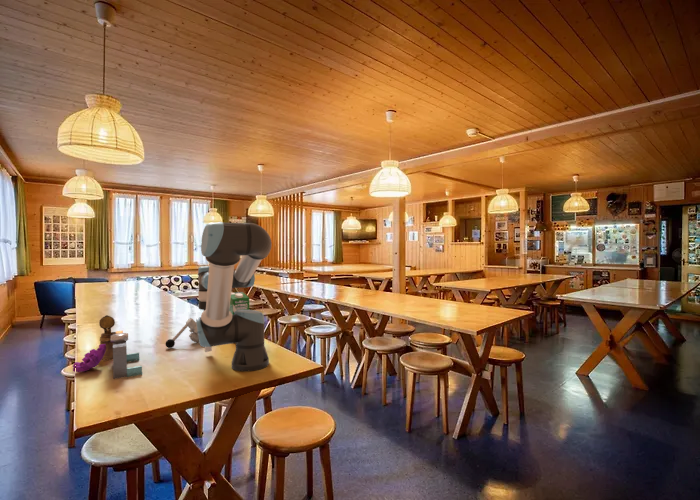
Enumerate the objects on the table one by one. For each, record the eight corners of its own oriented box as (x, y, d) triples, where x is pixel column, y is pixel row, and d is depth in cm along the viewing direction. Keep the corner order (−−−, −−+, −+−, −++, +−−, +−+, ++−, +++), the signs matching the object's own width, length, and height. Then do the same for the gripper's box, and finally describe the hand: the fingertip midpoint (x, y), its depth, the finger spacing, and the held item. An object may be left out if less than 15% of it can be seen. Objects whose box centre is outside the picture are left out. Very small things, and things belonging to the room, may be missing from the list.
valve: (214, 334, 188) (194, 316, 182) (190, 364, 178) (167, 345, 171) (205, 333, 195) (186, 315, 189) (181, 361, 185) (159, 343, 178)
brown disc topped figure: (118, 351, 173) (117, 313, 173) (122, 357, 163) (122, 318, 163) (95, 354, 168) (95, 316, 167) (98, 362, 157) (98, 321, 157)
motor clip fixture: (142, 374, 141) (141, 338, 141) (110, 380, 136) (110, 342, 136) (139, 359, 160) (138, 327, 160) (111, 363, 155) (111, 330, 155)
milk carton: (233, 343, 185) (232, 294, 185) (226, 339, 192) (226, 293, 192) (250, 340, 191) (249, 293, 191) (243, 336, 198) (242, 291, 198)
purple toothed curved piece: (106, 363, 156) (105, 340, 156) (106, 373, 144) (105, 349, 144) (73, 368, 150) (73, 345, 150) (70, 379, 137) (70, 354, 137)
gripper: (219, 301, 162) (220, 353, 162) (212, 297, 173) (213, 346, 173) (201, 302, 158) (202, 356, 158) (196, 298, 169) (196, 349, 169)
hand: (208, 351), depth 166 cm, fingers closed
